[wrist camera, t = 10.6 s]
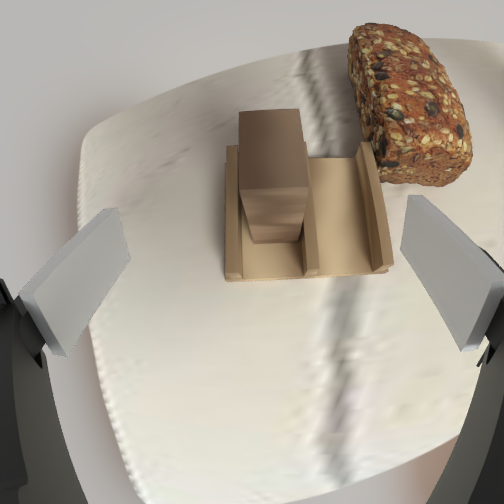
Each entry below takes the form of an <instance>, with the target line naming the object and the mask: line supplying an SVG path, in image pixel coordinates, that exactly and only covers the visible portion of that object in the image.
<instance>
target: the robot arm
mask: <svg viewBox="0 0 504 504" xmlns="http://www.w3.org/2000/svg"><path fill="white" fill-rule="evenodd" d="M400 250H401V252H402V253H403V255H404V256H405V258H406V259H407V261H408V262H409V264H410V265H411V267H412V268H413V270H414V272H415V273H416V275H417V276H418V278H419V279H420V281H421V283H422V284H423V286H424V287H425V289H426V291H427V292H428V294H429V296H430V297H431V299H432V301H433V302H434V304H435V306H436V307H437V309H438V311H439V313H440V314H441V316H442V318H443V320H444V321H445V323H446V325H447V327H448V329H449V330H450V332H451V334H452V336H453V338H454V340H455V342H456V344H457V346H458V347H459V349H460V351H461V352H465V351H470V350H474V349H478V347H479V346H480V344H481V342H482V340H483V338H484V336H485V335H486V337H487V339H488V340H489V342H490V343H489V345H488V346H487V348H486V350H485V352H484V353H483V355H482V357H481V359H480V360H479V362H478V364H477V367H479V366H480V364H481V363H482V366H481V370H480V374H479V378H478V381H477V385H476V388H475V392H474V395H473V398H472V401H471V404H470V407H469V410H468V413H467V416H466V419H465V422H464V424H463V427H462V429H461V432H460V435H459V437H458V440H457V442H456V444H455V447H454V449H453V451H452V454H451V456H450V458H449V461H448V462H447V465H446V467H445V469H444V471H443V473H442V475H441V477H440V479H439V481H438V483H437V485H436V486H435V489H434V490H433V492H432V494H431V496H430V498H429V499H428V501H427V503H426V504H504V270H503V269H502V267H501V266H500V267H499V264H498V263H497V262H496V261H495V260H493V258H492V257H491V256H490V255H489V254H488V253H487V252H486V251H485V250H483V249H482V248H480V247H479V246H477V245H476V244H475V243H474V242H473V241H472V240H471V239H470V238H469V237H468V236H467V235H466V234H465V233H464V232H463V231H462V230H461V229H460V228H459V227H458V226H457V225H456V224H455V223H453V222H452V221H451V220H450V219H449V218H448V217H447V216H446V215H445V214H444V213H442V212H441V211H440V210H439V209H438V208H437V207H436V206H434V205H433V204H432V203H431V202H430V201H429V200H427V199H426V198H425V197H424V196H423V195H408V200H407V208H406V215H405V222H404V229H403V235H402V241H401V247H400ZM130 259H131V257H130V254H129V250H128V247H127V243H126V240H125V236H124V232H123V229H122V225H121V221H120V217H119V213H118V209H117V208H110V209H104V210H102V211H101V212H100V213H99V214H98V215H97V216H96V217H94V218H93V219H92V220H91V221H90V222H89V223H88V224H87V225H86V226H84V227H83V228H82V229H81V230H80V231H79V232H78V233H77V234H76V235H75V236H74V237H73V238H72V239H70V241H69V242H67V243H66V244H65V245H64V246H63V247H62V248H61V249H60V250H59V251H58V252H57V253H56V254H55V255H54V256H53V257H52V258H51V259H50V260H49V261H48V262H47V263H46V264H45V265H44V266H43V267H42V268H41V269H40V270H39V271H38V272H37V274H36V275H35V276H34V277H33V278H32V279H31V280H30V281H29V282H28V283H27V284H26V285H25V286H24V288H23V289H22V290H21V291H20V292H19V295H18V296H17V297H16V299H15V300H13V298H12V297H11V294H10V292H9V291H8V288H7V286H6V284H5V282H4V280H3V279H0V504H88V502H87V500H86V497H85V495H84V492H83V490H82V488H81V485H80V483H79V480H78V478H77V475H76V472H75V470H74V467H73V464H72V461H71V458H70V456H69V452H68V449H67V446H66V443H65V439H64V436H63V433H62V429H61V425H60V422H59V418H58V414H57V410H56V406H55V402H54V397H53V393H52V388H51V383H50V378H49V372H48V366H47V360H46V356H45V353H44V352H43V350H42V347H43V346H44V344H45V343H46V344H47V345H48V347H49V349H50V350H51V352H52V353H53V354H54V355H59V356H64V357H68V356H69V354H70V353H71V351H72V349H73V347H74V346H75V344H76V343H77V341H78V339H79V338H80V336H81V334H82V333H83V331H84V329H85V328H86V326H87V324H88V323H89V321H90V320H91V318H92V316H93V315H94V313H95V312H96V310H97V308H98V307H99V305H100V304H101V302H102V301H103V299H104V298H105V296H106V295H107V293H108V292H109V290H110V289H111V287H112V286H113V284H114V283H115V281H116V280H117V278H118V277H119V275H120V274H121V272H122V271H123V269H124V268H125V267H126V265H127V264H128V262H129V261H130Z"/></svg>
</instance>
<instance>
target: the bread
mask: <svg viewBox="0 0 504 504" xmlns="http://www.w3.org/2000/svg"><path fill="white" fill-rule="evenodd" d="M348 52H349V54H348V55H347V57H348V71H349V77H350V78H351V83H352V86H353V90H354V97H355V102H356V103H357V111H358V113H359V120H360V124H361V129H362V134H363V138H364V140H365V142H371V146H372V150H373V154H374V158H375V162H376V166H377V170H378V175H379V179H380V183H384V182H389V183H392V184H402V183H410V184H411V183H418V184H421V185H423V186H436V187H440V186H441V187H443V186H445V185H447V184H449V183H451V182H454V181H455V180H456V179H458V177H459V176H460V175H461V174H462V172H464V171H466V170H467V168H468V167H469V166H470V164H471V161H472V156H473V153H472V137H471V133H470V130H469V124H468V122H467V120H466V118H465V113H464V108H463V105H462V104H461V102H460V99H459V97H458V94H457V91H456V90H455V89H454V88H453V87H452V83H451V82H450V80H449V78H448V75H447V74H446V70H445V67H444V66H443V65H442V64H440V63H439V61H438V60H437V59H436V58H435V57H434V55H433V53H432V52H431V50H430V47H428V46H427V45H426V44H425V42H424V41H423V40H422V39H421V38H419V37H418V36H416V35H415V34H412V33H411V32H408V31H407V30H403V29H400V28H399V27H397V26H393V25H388V24H376V23H366V24H365V25H362V26H357V27H356V28H355V29H354V30H353V34H352V36H351V37H350V38H349V49H348Z"/></svg>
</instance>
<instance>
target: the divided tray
mask: <svg viewBox="0 0 504 504" xmlns="http://www.w3.org/2000/svg"><path fill="white" fill-rule="evenodd" d="M304 147H305V155H306V163H307V171H308V179H309V191H308V197H307V202H306V207H305V212H304V217H303V221H302V226H301V231H300V236H299V241H298V242H296V243H273V244H254V243H253V239H252V235H251V232H250V228H249V224H248V221H247V217H246V213H245V210H244V206H243V202H242V199H241V195H240V192H239V151H238V146H237V145H234V146H227V158H226V163H225V280H226V281H227V282H234V281H259V280H281V279H301V278H320V277H337V276H353V275H368V274H382V273H386V272H388V268H389V267H391V266H392V265H394V260H393V252H392V245H391V239H390V232H389V226H388V220H387V215H386V209H385V204H384V199H383V194H382V189H381V184H380V179H379V175H378V170H377V166H376V162H375V158H374V154H373V150H372V146H371V142H361V143H360V145H359V148H358V151H357V153H356V156H355V158H308V153H307V146H306V142H304Z"/></svg>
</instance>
